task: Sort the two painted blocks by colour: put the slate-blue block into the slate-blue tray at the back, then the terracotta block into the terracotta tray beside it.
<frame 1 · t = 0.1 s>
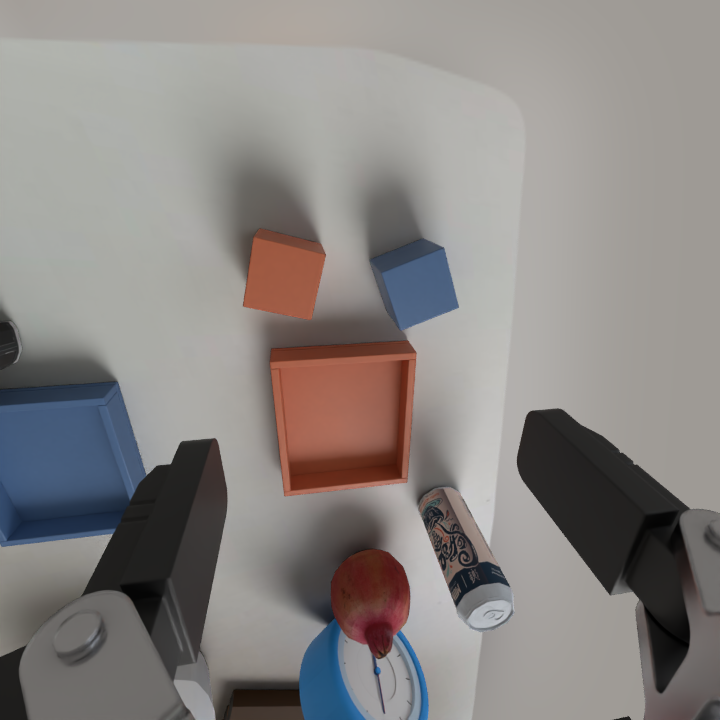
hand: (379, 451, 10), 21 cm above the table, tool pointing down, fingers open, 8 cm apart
blue tray: (66, 456, 32), on the table
terracotta block: (285, 266, 28), on the table
beer can: (438, 499, 41), on the table
fruit: (363, 554, 43), on the table
terracotta tray: (342, 412, 34), on the table
blue block: (404, 276, 30), on the table
bowl: (154, 670, 45), on the table
alarm clock: (354, 617, 47), on the table
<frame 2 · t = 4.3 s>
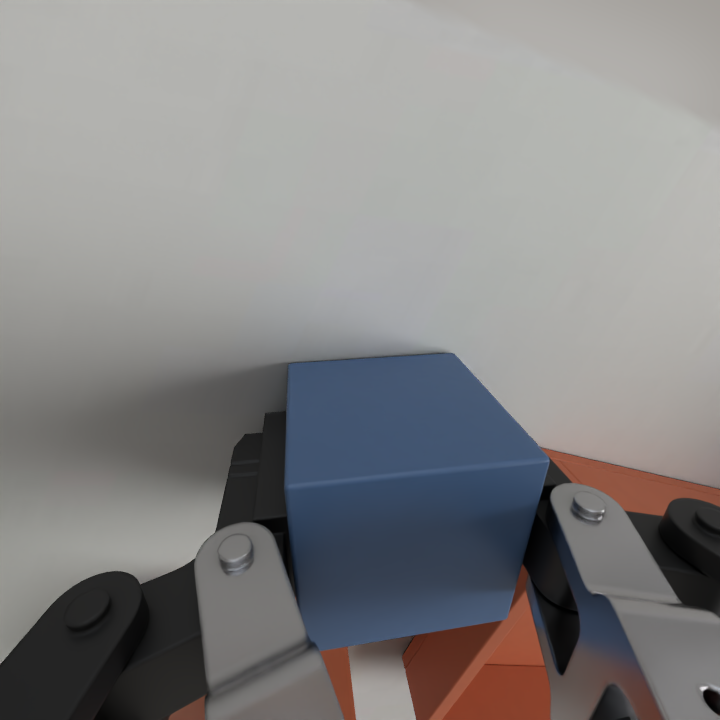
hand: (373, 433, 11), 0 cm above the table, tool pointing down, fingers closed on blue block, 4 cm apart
terracotta block: (258, 623, 14), on the table
terracotta tray: (593, 581, 16), on the table
blue block: (372, 426, 11), on the table, touching gripper
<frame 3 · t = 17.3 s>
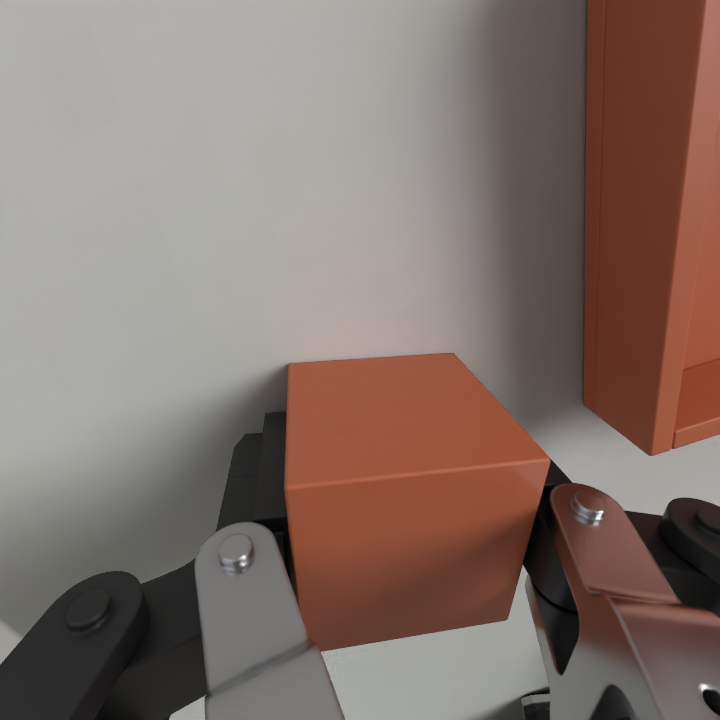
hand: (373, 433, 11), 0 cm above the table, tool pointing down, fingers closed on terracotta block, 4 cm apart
terracotta block: (372, 427, 11), on the table, touching gripper
when the fingers open (1 cm above the table, at t = 23.7 s): terracotta block stays where it is, resting on terracotta tray.
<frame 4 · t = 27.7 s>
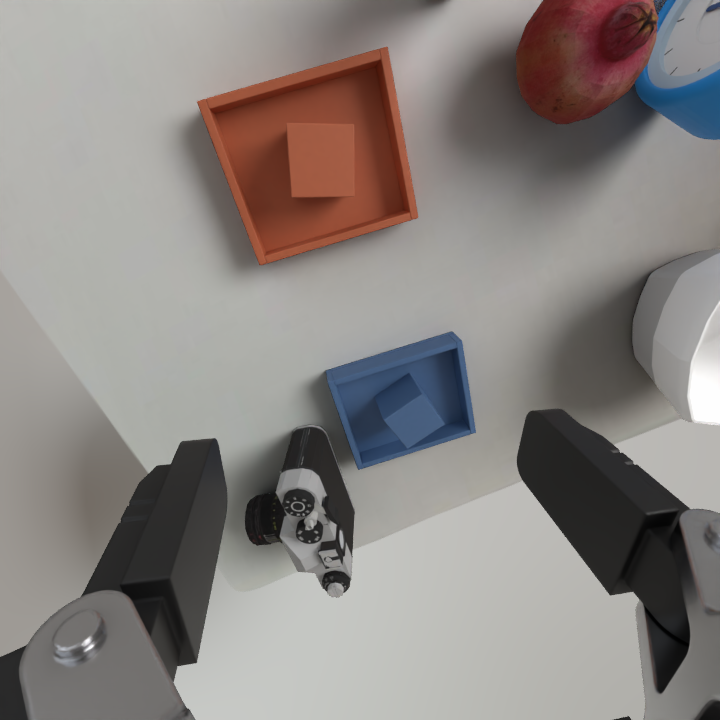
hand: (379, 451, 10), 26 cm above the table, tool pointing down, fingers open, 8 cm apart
blue tray: (400, 396, 41), on the table
terracotta block: (318, 164, 30), resting on terracotta tray
fruit: (541, 69, 30), on the table
terracotta tray: (316, 166, 30), on the table
blue block: (402, 398, 40), resting on blue tray
bowl: (681, 307, 42), on the table
alarm clock: (671, 46, 31), on the table
camera: (295, 482, 43), on the table
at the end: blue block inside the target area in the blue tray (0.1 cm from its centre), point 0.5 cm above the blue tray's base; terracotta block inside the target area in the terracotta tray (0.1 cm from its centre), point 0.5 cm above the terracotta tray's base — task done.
